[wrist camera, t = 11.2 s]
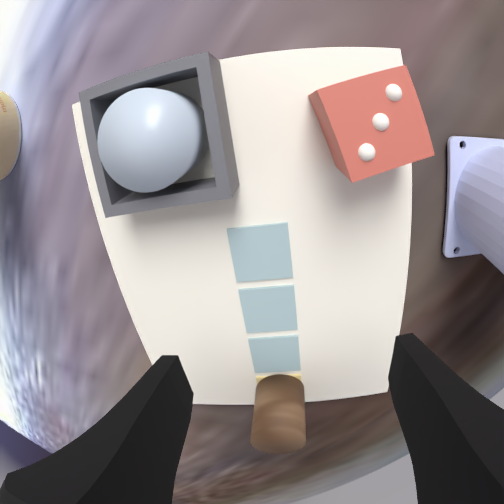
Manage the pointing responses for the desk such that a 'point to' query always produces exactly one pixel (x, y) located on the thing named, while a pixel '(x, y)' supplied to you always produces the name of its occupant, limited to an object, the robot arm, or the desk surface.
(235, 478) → the desk surface
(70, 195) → the desk surface
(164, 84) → the board
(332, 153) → the die
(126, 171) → the dome
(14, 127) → the coffee cup
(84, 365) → the desk surface
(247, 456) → the desk surface
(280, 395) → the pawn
